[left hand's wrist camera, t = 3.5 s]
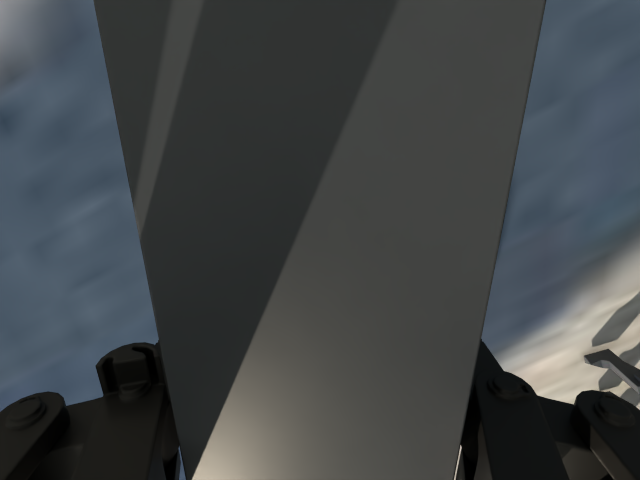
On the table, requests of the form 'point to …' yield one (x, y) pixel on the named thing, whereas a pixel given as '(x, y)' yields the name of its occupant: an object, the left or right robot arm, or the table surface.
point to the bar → (319, 219)
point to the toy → (615, 367)
